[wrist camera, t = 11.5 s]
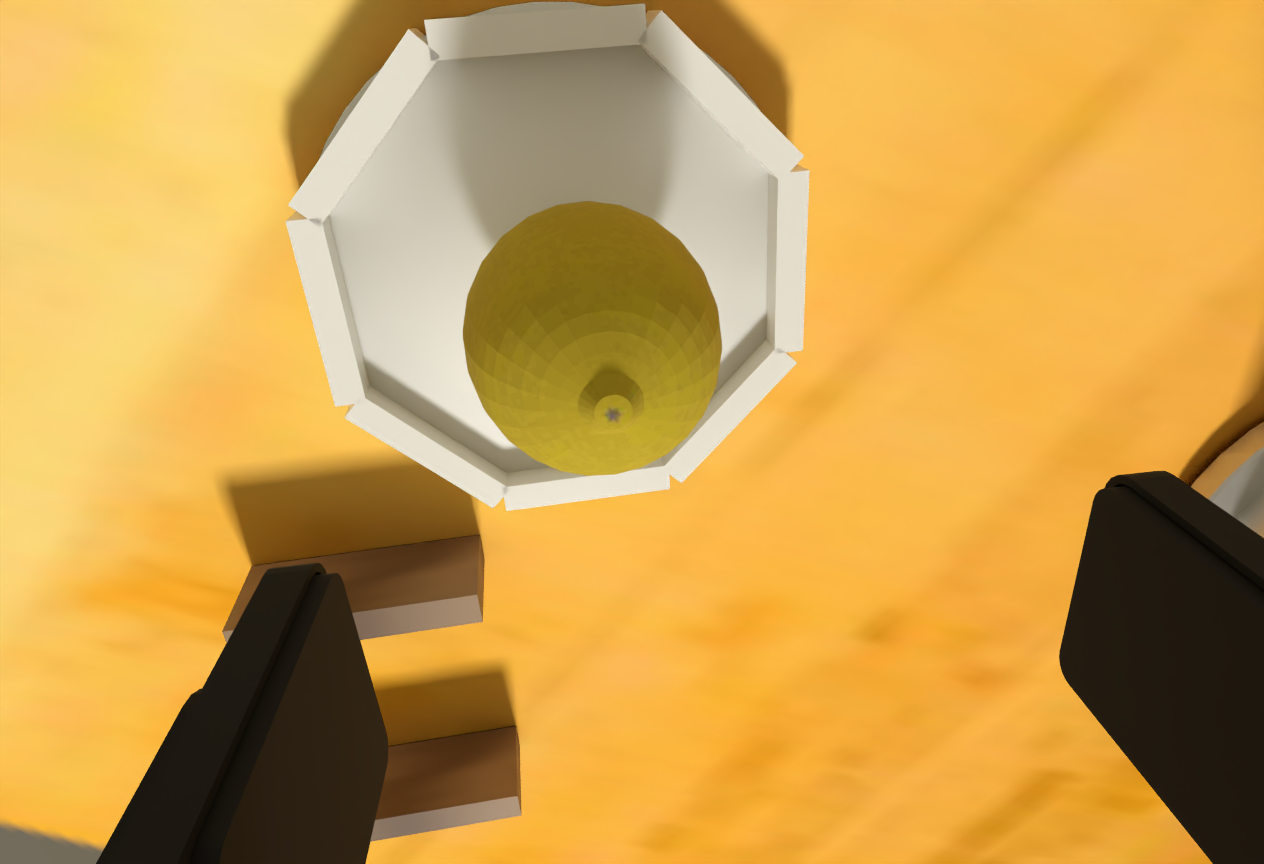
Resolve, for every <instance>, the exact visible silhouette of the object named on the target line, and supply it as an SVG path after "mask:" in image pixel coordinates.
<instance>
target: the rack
mask: <svg viewBox="0 0 1264 864" xmlns="http://www.w3.org/2000/svg"><path fill="white" fill-rule="evenodd" d="M309 563H320V564H322V566H323V567H324V568H325V570H326V573H327V574H330V573H338V574H339V575H340V576H341V578H342V580H343V583H344V586H345V590H346V593H347V597H348V600H349V604H350V607H351V611H352V614H353V618H354V621H355V625H356V628H357V632H358V635H359V639H360V640H363V639H370V638H377V637H383V636H390V635H397V634H404V633H410V632H417V631H424V630H431V629H437V628H444V627H451V626H458V625H464V624H471V623H478V622H483V592H484V555H483V550H482V545H481V539H480V535H474V536H467V537H460V538H452V539H445V540H438V541H431V542H423V543H416V544H409V545H402V546H394V547H387V548H380V549H373V550H365V551H358V552H351V553H343V554H336V555H329V556H322V557H314V558H307V559H300V560H293V561H285V562H278V563H271V564H264V565H256V566H252V567H251V569H250V572H249V574H248V576H247V578H246V580H245V583H244V585H243V587H242V589H241V591H240V594H239V596H238V598H237V600H236V603H235V605H234V607H233V609H232V611H231V614H230V616H229V618H228V620H227V622H226V625H225V627H224V629H223V631H222V632H223V635H224V637H225V640H226V642H228V640H229V638H230V636H231V634H232V632H233V631H234V629H235V627H236V625H237V623H238V621H239V619H240V618H241V616H242V614H243V612H244V610H245V608H246V606H247V605H248V603H249V601H250V599H251V597H252V595H253V593H254V591H255V590H256V588H257V586H258V584H259V582H260V580H261V578H262V577H263V575H264V573H265V572H266V571H267V570H268V569H270V568H273V567H282V566H291V565H300V564H309ZM515 816H521V783H520V745H519V740H518V734H517V729H516V726H513V727H507V728H501V729H495V730H489V731H483V732H476V733H470V734H464V735H458V736H452V737H445V738H439V739H433V740H427V741H421V742H415V743H408V744H402V745H396V746H390V747H388V764H387V769H386V774H385V778H384V783H383V787H382V792H381V796H380V800H379V805H378V809H377V814H376V818H375V823H374V827H373V832H372V836H371V840H370V842H371V841H376V840H382V839H388V838H394V837H399V836H405V835H411V834H417V833H423V832H428V831H434V830H440V829H446V828H452V827H457V826H463V825H469V824H475V823H480V822H486V821H492V820H498V819H504V818H509V817H515Z"/></svg>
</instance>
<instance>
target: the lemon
mask: <svg viewBox="0 0 1264 864" xmlns="http://www.w3.org/2000/svg"><path fill="white" fill-rule="evenodd" d="M463 342H464V349H465V356H466V363H467V369H468V373H469V376H470V378H471V381H472V383H473V385H474V388H475V390H476V392H477V395H478V397H479V399H480V402H481V404H482V406H483V408H484V410H485V412H486V413H487V414H488V416H489V417H490V418H491V419H492V421H493V422H494V423H495V425H496V426H497V427H498V428H499V430H500V431H501V432H502V433H503V435H504V436H505V437H506V438H507V439H508V441H510V442H511V443H512V444H514V445H515V446H516V447H518V448H519V449H521V450H522V451H523V452H525V453H526V454H527V455H529V456H530V457H531V458H533V459H534V460H536V461H538V462H541V463H543V464H545V465H548V466H550V467H552V468H555V469H557V470H559V471H563V472H569V473H574V474H580V475H586V476H596V475H615V474H619V473H623V472H627V471H630V470H634V469H638V468H641V467H644V466H645V465H647V464H649V463H651V462H653V461H655V460H657V459H659V458H661V457H663V456H665V455H667V454H668V453H669V452H670V451H671V450H672V449H674V448H675V447H676V446H677V445H678V444H680V443H681V442H682V441H683V440H684V439H685V438H687V437H688V435H689V434H690V433H691V431H692V430H693V429H694V427H695V426H696V425H697V423H698V422H699V421H700V419H701V418H702V417H703V415H704V413H705V411H706V409H707V406H708V404H709V402H710V399H711V397H712V395H713V392H714V390H715V388H716V385H717V381H718V374H719V367H720V360H721V354H722V339H721V331H720V322H719V313H718V307H717V304H716V301H715V299H714V296H713V294H712V291H711V289H710V286H709V284H708V281H707V278H706V276H705V273H704V271H703V270H702V268H701V266H700V265H699V264H698V262H697V261H696V260H695V259H694V257H693V256H692V255H691V253H690V252H689V251H688V249H687V248H686V247H685V245H684V244H683V243H682V242H681V241H680V240H679V239H678V238H677V237H676V236H675V235H673V234H672V233H671V232H669V231H668V230H667V229H665V228H664V227H663V226H661V225H660V224H659V223H657V222H656V221H655V220H654V219H652V218H650V217H648V216H646V215H643V214H641V213H638V212H636V211H634V210H631V209H629V208H626V207H624V206H621V205H616V204H608V203H600V202H592V201H583V202H575V203H568V204H560V205H555V206H553V207H550V208H548V209H546V210H543V211H541V212H538V213H536V214H533V215H531V216H528V217H527V218H526V219H524V220H523V221H522V222H520V223H519V224H518V225H516V226H515V227H514V228H512V229H511V230H510V231H508V232H507V233H506V234H504V235H503V236H502V237H501V238H500V239H499V241H498V242H497V243H496V244H495V246H494V247H493V248H492V249H491V251H490V252H489V253H488V255H487V256H486V257H485V258H484V260H483V261H482V263H481V265H480V267H479V269H478V272H477V274H476V276H475V279H474V281H473V283H472V286H471V288H470V290H469V293H468V296H467V301H466V308H465V316H464V324H463Z"/></svg>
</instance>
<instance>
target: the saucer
mask: <svg viewBox="0 0 1264 864" xmlns="http://www.w3.org/2000/svg"><path fill="white" fill-rule="evenodd" d="M424 23H425V29H426V35H424V34H423V33H421V32H420V31H419V30H418V29H417V28H413V29H408V31H407V32H406V33H405V35H404V36H403V38H402V39H401V41H400V42H399V44H398V45H397V47H396V48H395V50H394V51H393V52H392V54H391V55H390V57H389V58H388V60H387V61H386V63H385V64H384V66H383V67H382V68H381V69H380V70H379V71H378V72H377V73H376V74H375V75H373V76H372V77H371V78H370V79H369V80H368V81H367V82H366V83H365V85H364V86H363V87H362V88H361V90H360V91H359V92H358V94H357V95H356V96H355V97H354V99H353V100H352V101H351V102H350V104H349V105H348V106H347V107H346V109H345V110H344V111H343V113H342V115H341V117H340V118H339V120H338V122H337V124H336V125H335V127H334V129H333V131H332V132H331V134H330V136H329V137H328V139H327V141H326V143H325V146H324V148H323V151H322V153H321V156H320V158H319V161H318V162H317V164H316V165H315V166H314V168H313V169H312V171H311V172H310V174H309V175H308V177H307V178H306V180H305V181H304V183H303V184H302V185H301V187H300V188H299V190H298V191H297V193H296V194H295V196H294V197H293V199H292V200H291V202H290V203H289V204H288V205H289V206H290V207H292V208H293V209H294V210H296V212H295V213H294V214H293V215H292V216H291V217H289V218H288V219H287V220H286V225H287V228H288V232H289V236H290V240H291V243H292V247H293V251H294V255H295V258H296V262H297V266H298V269H299V273H300V277H301V281H302V284H303V288H304V292H305V296H306V299H307V303H308V307H309V310H310V314H311V318H312V322H313V325H314V329H315V333H316V336H317V340H318V344H319V348H320V351H321V355H322V359H323V363H324V366H325V370H326V374H327V377H328V381H329V385H330V389H331V392H332V396H333V400H334V403H335V406H343V405H349V407H348V410H347V412H346V415H345V419H347V420H349V421H350V422H352V423H354V424H355V425H357V426H359V427H360V428H362V429H364V430H365V431H367V432H369V433H370V434H372V435H373V436H375V437H377V438H378V439H380V440H382V441H383V442H385V443H387V444H388V445H390V446H392V447H393V448H395V449H396V450H398V451H400V452H401V453H403V454H405V455H406V456H408V457H410V458H411V459H413V460H415V461H416V462H418V463H419V464H421V465H423V466H424V467H426V468H428V469H429V470H431V471H433V472H434V473H436V474H438V475H439V476H441V477H442V478H444V479H446V480H447V481H449V482H451V483H452V484H454V485H456V486H457V487H459V488H461V489H462V490H464V491H466V492H467V493H469V494H470V495H472V496H474V497H475V498H477V499H479V500H480V501H482V502H484V503H485V504H487V505H489V506H490V507H492V508H494V507H495V506H496V505H497V503H498V502H499V501H500V500H501V499H502V498H503V497H504V500H505V506H506V511H510V510H518V509H525V508H532V507H540V506H547V505H555V504H562V503H569V502H577V501H584V500H592V499H599V498H606V497H614V496H621V495H629V494H636V493H643V492H651V491H658V490H666V489H670V480H669V474H670V475H671V476H672V477H674V478H675V479H677V480H678V481H680V482H681V483H682V482H683V481H684V480H685V479H686V478H687V477H688V476H689V475H690V474H691V473H692V472H693V471H694V470H695V469H696V468H697V466H698V465H699V464H700V463H701V462H702V461H703V460H704V459H705V458H706V457H707V456H708V455H709V454H710V453H711V452H712V451H713V450H714V449H715V448H716V447H717V446H718V445H719V444H720V443H721V441H722V440H723V439H724V438H725V437H726V436H727V435H728V434H729V433H730V432H731V431H732V430H733V429H734V428H735V427H736V426H737V425H738V424H739V423H740V422H741V421H742V420H743V419H744V418H745V417H746V415H747V414H748V413H749V412H750V411H751V410H752V409H753V408H754V407H755V406H756V405H757V404H758V403H759V402H760V401H761V400H762V399H763V398H764V397H765V396H766V395H767V394H768V393H769V392H770V391H771V389H772V388H773V387H774V386H775V385H776V384H777V383H778V382H779V381H780V380H781V379H782V378H783V377H784V376H785V375H786V374H787V373H788V372H789V371H790V370H791V369H792V368H793V367H794V366H795V365H796V363H797V362H796V361H795V360H794V359H793V358H792V356H791V355H790V354H789V353H788V352H794V351H802V350H803V329H804V302H805V276H806V249H807V222H808V196H809V170H808V169H806V168H804V167H802V166H800V165H797V163H798V162H799V161H800V160H801V159H802V158H803V157H804V155H803V154H802V153H801V152H800V151H799V150H798V149H797V148H796V147H795V146H794V145H793V144H792V143H791V142H790V141H789V140H788V139H787V138H786V137H785V136H784V135H783V134H782V133H781V132H780V131H779V130H778V129H777V128H776V127H775V126H774V125H773V124H772V123H771V122H770V121H769V120H768V119H767V118H766V116H765V115H764V114H763V113H762V112H761V111H760V109H759V108H758V106H757V105H756V103H755V102H754V101H753V100H752V99H751V97H750V96H749V95H748V94H747V93H746V91H745V90H744V89H743V88H742V87H741V86H740V84H739V83H738V82H737V81H736V80H735V78H734V77H733V76H732V75H730V74H729V73H728V72H727V71H726V70H725V69H724V68H723V67H721V66H720V65H719V64H718V63H717V62H716V61H715V60H714V59H712V58H711V57H710V56H709V55H708V54H707V53H705V52H704V51H702V50H701V49H699V48H698V47H697V46H696V45H695V44H694V43H693V42H692V41H691V40H690V39H689V38H688V37H687V36H686V35H685V34H684V33H683V32H682V31H681V30H680V29H679V28H678V27H677V25H676V24H675V23H674V22H673V21H672V20H671V19H670V18H669V17H668V16H667V15H666V14H665V13H664V12H663V11H662V10H651V11H647V13H646V11H645V4H631V5H618V6H604V7H603V6H596V5H589V4H583V3H576V2H529V3H522V4H515V5H508V6H502V7H496V8H492V9H489V10H486V11H482V12H479V13H476V14H473V15H469V16H466V17H456V18H443V19H429V20H424ZM583 201H592V202H600V203H608V204H616V205H621V206H624V207H626V208H629V209H631V210H634V211H636V212H638V213H641V214H643V215H646V216H648V217H650V218H652V219H654V220H655V221H656V222H657V223H659V224H660V225H661V226H663V227H664V228H665V229H667V230H668V231H669V232H671V233H672V234H673V235H675V236H676V237H677V238H678V239H679V240H680V241H681V242H682V243H683V244H684V245H685V247H686V248H687V249H688V251H689V252H690V253H691V255H692V256H693V257H694V259H695V260H696V261H697V262H698V264H699V265H700V266H701V268H702V270H703V271H704V273H705V276H706V278H707V281H708V284H709V286H710V289H711V291H712V294H713V296H714V299H715V301H716V304H717V307H718V313H719V322H720V331H721V339H722V354H721V360H720V367H719V374H718V381H717V385H716V388H715V390H714V392H713V395H712V397H711V399H710V402H709V404H708V406H707V409H706V411H705V413H704V415H703V417H702V418H701V419H700V421H699V422H698V423H697V425H696V426H695V427H694V429H693V430H692V431H691V433H690V434H689V435H688V437H687V438H685V439H684V440H683V441H682V442H681V443H680V444H678V445H677V446H676V447H675V448H674V449H672V450H671V451H670V452H669V453H668V454H667V455H665V456H663V457H661V458H659V459H657V460H655V461H653V462H651V463H649V464H647V465H645V466H644V467H641V468H638V469H634V470H630V471H627V472H623V473H619V474H615V475H596V476H586V475H580V474H574V473H569V472H563V471H559V470H557V469H555V468H552V467H550V466H548V465H545V464H543V463H541V462H538V461H536V460H534V459H533V458H531V457H530V456H529V455H527V454H526V453H525V452H523V451H522V450H521V449H519V448H518V447H516V446H515V445H514V444H512V443H511V442H510V441H508V439H507V438H506V437H505V436H504V435H503V433H502V432H501V431H500V430H499V428H498V427H497V426H496V425H495V423H494V422H493V421H492V419H491V418H490V417H489V416H488V414H487V413H486V412H485V410H484V408H483V406H482V404H481V402H480V399H479V397H478V395H477V392H476V390H475V388H474V385H473V383H472V381H471V378H470V376H469V373H468V369H467V363H466V356H465V349H464V342H463V324H464V316H465V308H466V301H467V296H468V293H469V290H470V288H471V286H472V283H473V281H474V279H475V276H476V274H477V272H478V269H479V267H480V265H481V263H482V261H483V260H484V258H485V257H486V256H487V255H488V253H489V252H490V251H491V249H492V248H493V247H494V246H495V244H496V243H497V242H498V241H499V239H500V238H501V237H502V236H503V235H504V234H506V233H507V232H508V231H510V230H511V229H512V228H514V227H515V226H516V225H518V224H519V223H520V222H522V221H523V220H524V219H526V218H527V217H528V216H531V215H533V214H536V213H538V212H541V211H543V210H546V209H548V208H550V207H553V206H555V205H560V204H568V203H575V202H583Z"/></svg>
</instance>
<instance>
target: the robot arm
mask: <svg viewBox="0 0 1264 864" xmlns="http://www.w3.org/2000/svg"><path fill="white" fill-rule="evenodd" d="M1059 659H1060V666H1061V670H1062V673H1063V675H1064V677H1065V679H1066V681H1067V682H1068V684H1069V685H1070V686H1071V688H1072V689H1073V690H1074V691H1075V693H1076V694H1077V695H1078V696H1079V698H1080V699H1081V700H1082V701H1083V702H1084V704H1085V705H1086V706H1087V707H1088V709H1089V710H1090V711H1091V712H1092V714H1093V715H1094V716H1095V717H1096V719H1097V720H1098V721H1099V722H1100V724H1101V725H1102V726H1103V727H1104V729H1105V730H1106V731H1107V732H1108V734H1109V735H1110V736H1111V737H1112V739H1113V740H1114V741H1115V742H1116V744H1117V745H1118V746H1119V747H1120V749H1121V750H1122V751H1123V752H1124V753H1125V755H1126V756H1127V757H1128V758H1129V760H1130V761H1131V762H1132V763H1133V765H1134V766H1135V767H1136V768H1137V770H1138V771H1139V772H1140V773H1141V775H1142V776H1143V777H1144V778H1145V780H1146V781H1147V782H1148V783H1149V785H1150V786H1151V787H1152V788H1153V790H1154V791H1155V792H1156V793H1157V795H1158V796H1159V797H1160V798H1161V800H1162V801H1163V802H1164V803H1165V805H1166V806H1167V807H1168V808H1169V809H1170V811H1171V812H1172V813H1173V814H1174V816H1175V817H1176V818H1177V819H1178V821H1179V822H1180V823H1181V824H1182V826H1183V827H1184V828H1185V829H1186V831H1187V832H1188V833H1189V834H1190V836H1191V837H1192V838H1193V839H1194V841H1195V842H1196V843H1197V844H1198V846H1199V847H1200V848H1201V849H1202V851H1203V852H1204V853H1205V854H1206V856H1207V857H1208V858H1209V859H1210V860H1211V862H1212V863H1213V864H1264V422H1262V423H1261V424H1259V425H1257V426H1256V427H1254V428H1253V429H1251V430H1250V431H1248V432H1247V433H1246V434H1245V435H1243V436H1242V437H1241V438H1240V439H1238V440H1237V441H1236V442H1235V443H1234V444H1232V445H1231V446H1230V447H1229V448H1227V449H1226V450H1225V451H1224V452H1222V453H1221V454H1220V455H1219V456H1218V457H1217V458H1216V459H1215V460H1214V461H1213V462H1212V463H1211V464H1210V465H1209V466H1208V467H1207V469H1206V470H1205V471H1204V472H1203V473H1202V474H1201V475H1200V476H1199V477H1198V478H1197V479H1196V480H1195V481H1194V483H1193V484H1192V485H1191V487H1190V486H1189V485H1187V484H1186V483H1184V482H1183V481H1181V480H1180V479H1179V478H1177V477H1176V476H1174V475H1173V474H1170V473H1168V472H1166V471H1153V472H1144V473H1134V474H1125V475H1117V476H1115V477H1113V478H1111V479H1110V480H1109V481H1108V483H1107V484H1106V486H1105V488H1104V489H1101V490H1099V491H1098V492H1097V494H1096V495H1095V498H1094V500H1093V505H1092V509H1091V514H1090V518H1089V523H1088V527H1087V532H1086V536H1085V540H1084V545H1083V549H1082V554H1081V558H1080V563H1079V567H1078V572H1077V576H1076V581H1075V585H1074V590H1073V594H1072V599H1071V603H1070V608H1069V612H1068V617H1067V621H1066V626H1065V630H1064V635H1063V639H1062V644H1061V648H1060V655H1059ZM387 764H388V738H387V733H386V730H385V726H384V723H383V719H382V716H381V712H380V709H379V705H378V702H377V698H376V695H375V691H374V688H373V684H372V681H371V677H370V674H369V670H368V667H367V663H366V660H365V656H364V653H363V649H362V646H361V642H360V639H359V635H358V632H357V628H356V625H355V621H354V618H353V614H352V611H351V607H350V604H349V600H348V597H347V593H346V590H345V586H344V583H343V580H342V578H341V576H340V575H339V574H338V573H330V574H327V573H326V570H325V568H324V567H323V566H322V564H320V563H309V564H300V565H291V566H282V567H273V568H270V569H268V570H267V571H266V572H265V573H264V575H263V577H262V578H261V580H260V582H259V584H258V586H257V588H256V590H255V591H254V593H253V595H252V597H251V599H250V601H249V603H248V605H247V606H246V608H245V610H244V612H243V614H242V616H241V618H240V619H239V621H238V623H237V625H236V627H235V629H234V631H233V632H232V634H231V636H230V638H229V640H228V642H227V644H226V645H225V647H224V649H223V651H222V653H221V655H220V657H219V659H218V660H217V662H216V664H215V666H214V668H213V670H212V672H211V673H210V675H209V677H208V679H207V681H206V683H205V685H204V686H203V688H202V689H199V690H198V691H196V692H195V693H193V694H191V696H190V697H189V699H188V700H187V701H186V703H185V704H184V705H183V707H182V709H181V711H180V712H179V714H178V716H177V718H176V720H175V721H174V723H173V725H172V727H171V729H170V731H169V732H168V734H167V736H166V738H165V740H164V741H163V743H162V745H161V747H160V749H159V750H158V752H157V754H156V756H155V758H154V760H153V761H152V763H151V765H150V767H149V769H148V770H147V772H146V774H145V776H144V778H143V779H142V781H141V783H140V785H139V787H138V789H137V790H136V792H135V794H134V796H133V798H132V799H131V801H130V803H129V805H128V807H127V808H126V810H125V812H124V814H123V816H122V818H121V819H120V821H119V823H118V825H117V827H116V828H115V830H114V832H113V834H112V836H111V837H110V839H109V841H108V843H107V845H106V847H105V848H104V850H103V852H102V854H101V856H100V858H99V860H98V861H97V863H96V864H365V863H366V858H367V854H368V849H369V845H370V840H371V836H372V832H373V827H374V823H375V818H376V814H377V809H378V805H379V800H380V796H381V792H382V787H383V783H384V778H385V774H386V769H387Z"/></svg>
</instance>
